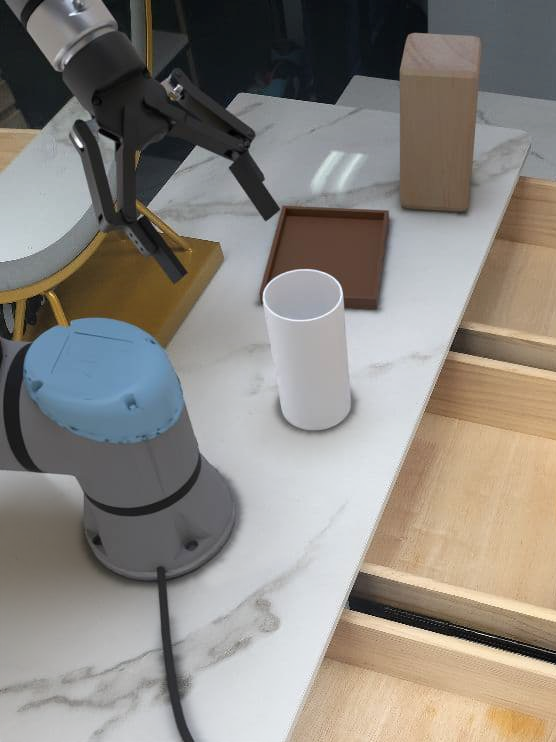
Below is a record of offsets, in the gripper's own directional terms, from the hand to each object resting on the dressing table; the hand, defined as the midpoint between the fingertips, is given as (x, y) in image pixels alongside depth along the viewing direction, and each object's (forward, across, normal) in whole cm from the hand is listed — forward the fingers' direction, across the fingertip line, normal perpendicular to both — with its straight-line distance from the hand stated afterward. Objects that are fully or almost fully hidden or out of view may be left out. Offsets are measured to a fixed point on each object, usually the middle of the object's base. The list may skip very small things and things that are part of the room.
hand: (228, 246), depth 86 cm
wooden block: (+9, +43, +15) cm, 47 cm away
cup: (+20, 0, +5) cm, 20 cm away
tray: (+8, +21, +16) cm, 28 cm away
